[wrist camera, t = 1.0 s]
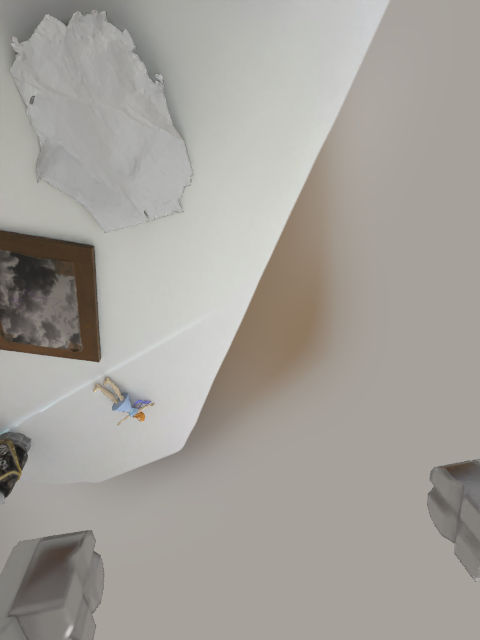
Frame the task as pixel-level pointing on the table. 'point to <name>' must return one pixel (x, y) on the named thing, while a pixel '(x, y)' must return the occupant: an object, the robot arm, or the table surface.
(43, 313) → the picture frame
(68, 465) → the table surface
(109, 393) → the fairy figurine
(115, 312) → the table surface
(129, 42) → the paper
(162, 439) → the table surface
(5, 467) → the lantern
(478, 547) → the robot arm
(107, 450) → the table surface
